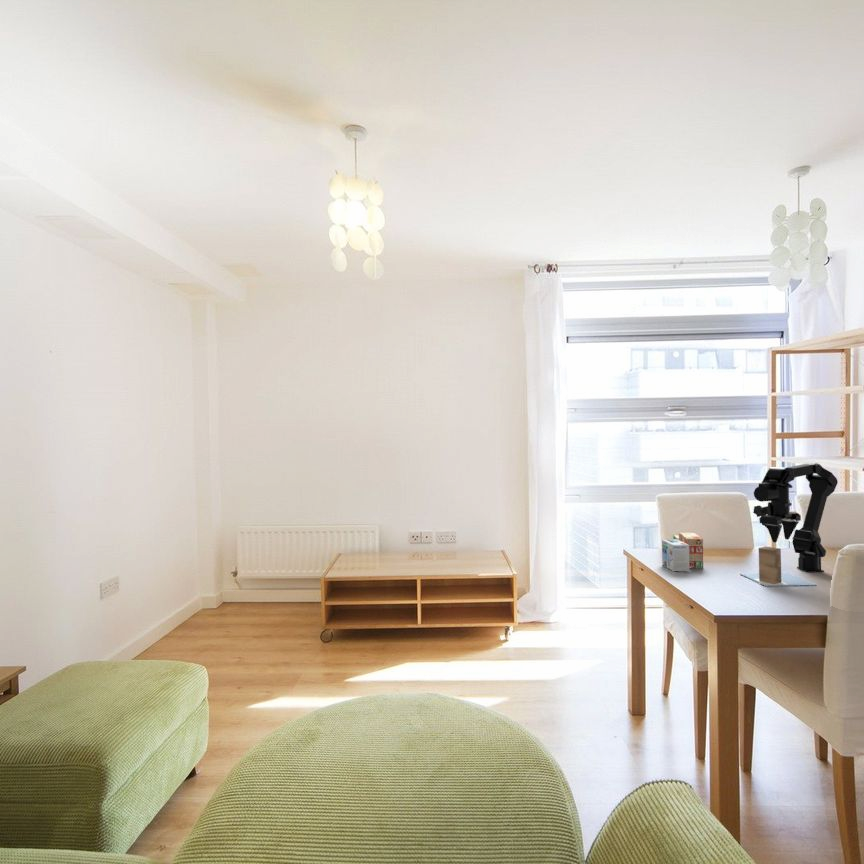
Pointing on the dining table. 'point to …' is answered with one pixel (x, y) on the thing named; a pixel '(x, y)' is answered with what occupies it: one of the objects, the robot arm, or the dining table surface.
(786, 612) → the dining table surface
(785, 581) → the board
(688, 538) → the stack of blocks
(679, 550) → the light bulb box
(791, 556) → the dining table surface
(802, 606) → the dining table surface
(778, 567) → the walnut column
